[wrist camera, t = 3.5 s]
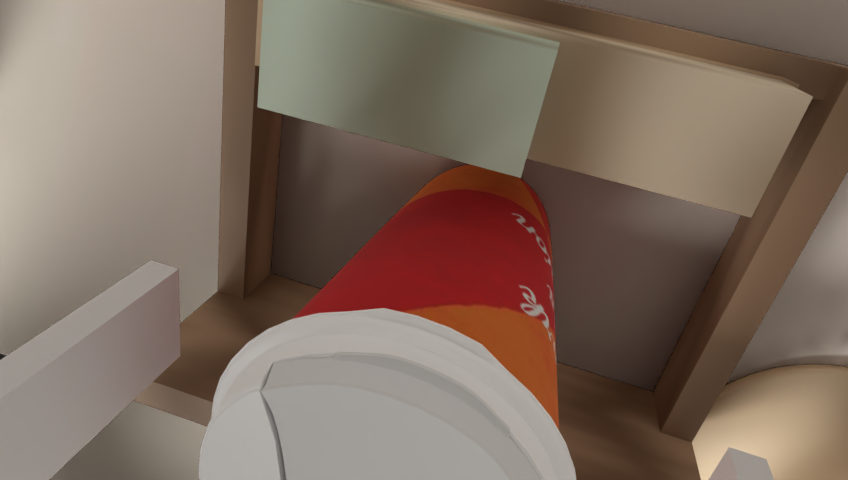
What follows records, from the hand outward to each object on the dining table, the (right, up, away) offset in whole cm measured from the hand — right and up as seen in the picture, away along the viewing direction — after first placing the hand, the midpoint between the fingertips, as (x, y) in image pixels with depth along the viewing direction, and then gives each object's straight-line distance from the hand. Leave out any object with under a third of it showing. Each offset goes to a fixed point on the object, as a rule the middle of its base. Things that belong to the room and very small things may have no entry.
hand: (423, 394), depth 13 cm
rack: (+2, +5, +9) cm, 10 cm away
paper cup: (+2, +4, +10) cm, 11 cm away
